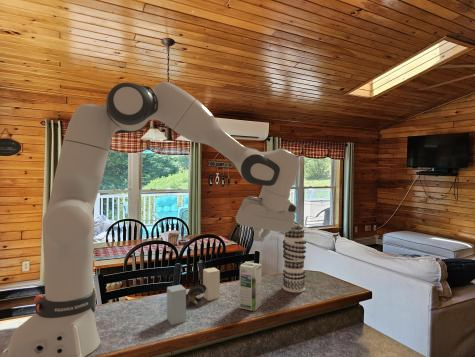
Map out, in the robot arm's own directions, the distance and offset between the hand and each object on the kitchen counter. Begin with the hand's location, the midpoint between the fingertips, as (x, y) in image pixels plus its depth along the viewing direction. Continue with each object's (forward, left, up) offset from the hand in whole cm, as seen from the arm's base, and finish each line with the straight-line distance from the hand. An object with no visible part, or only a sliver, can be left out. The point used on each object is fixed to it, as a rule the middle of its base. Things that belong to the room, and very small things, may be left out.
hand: (257, 240), depth 102 cm
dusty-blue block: (-24, +9, -24) cm, 35 cm away
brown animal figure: (-15, +18, -24) cm, 33 cm away
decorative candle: (+25, +12, -24) cm, 37 cm away
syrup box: (+1, +6, -24) cm, 25 cm away
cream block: (-7, +20, -24) cm, 32 cm away
